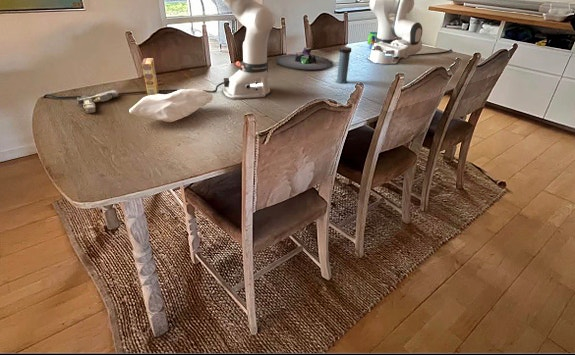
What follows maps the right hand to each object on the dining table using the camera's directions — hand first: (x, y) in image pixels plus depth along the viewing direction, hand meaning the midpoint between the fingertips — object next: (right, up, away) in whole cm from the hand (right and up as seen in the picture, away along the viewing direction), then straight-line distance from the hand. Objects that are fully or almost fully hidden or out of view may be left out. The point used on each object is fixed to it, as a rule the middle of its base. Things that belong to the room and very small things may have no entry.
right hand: (378, 50), depth 195 cm
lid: (-20, -3, -11) cm, 23 cm away
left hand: (-35, +21, -32) cm, 52 cm away
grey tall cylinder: (-20, -17, -2) cm, 27 cm away
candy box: (-111, -30, -28) cm, 118 cm away
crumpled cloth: (-96, -42, -46) cm, 115 cm away
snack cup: (+13, +24, +65) cm, 71 cm away
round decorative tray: (-39, +2, +27) cm, 47 cm away
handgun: (-129, -37, -39) cm, 140 cm away
